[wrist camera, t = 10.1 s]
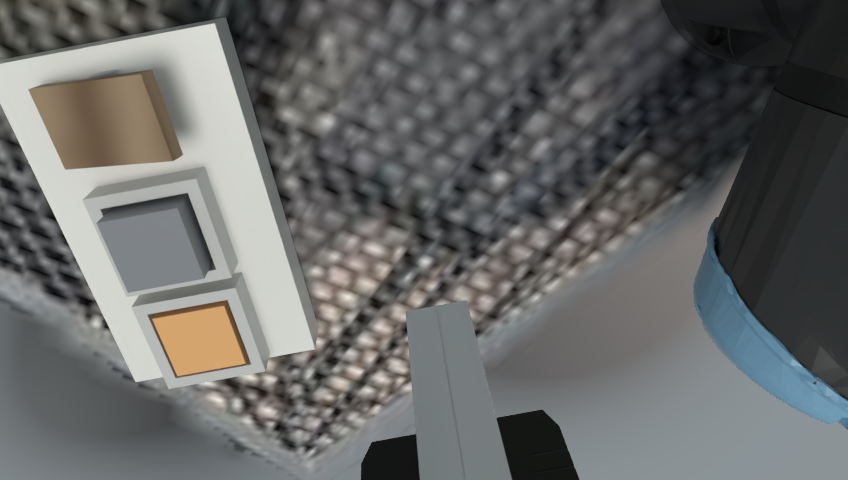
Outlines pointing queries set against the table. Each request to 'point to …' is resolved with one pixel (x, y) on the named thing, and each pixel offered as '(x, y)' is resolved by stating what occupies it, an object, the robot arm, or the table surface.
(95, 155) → the walnut rocker
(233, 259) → the switch housing
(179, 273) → the charcoal button
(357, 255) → the table surface
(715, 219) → the robot arm
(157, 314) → the orange button
